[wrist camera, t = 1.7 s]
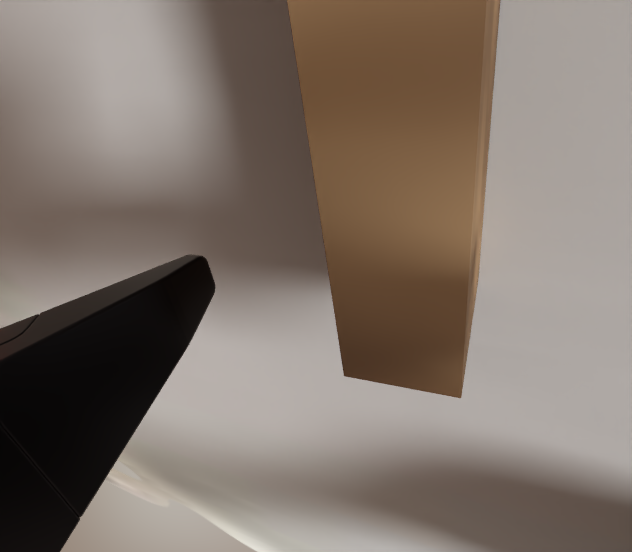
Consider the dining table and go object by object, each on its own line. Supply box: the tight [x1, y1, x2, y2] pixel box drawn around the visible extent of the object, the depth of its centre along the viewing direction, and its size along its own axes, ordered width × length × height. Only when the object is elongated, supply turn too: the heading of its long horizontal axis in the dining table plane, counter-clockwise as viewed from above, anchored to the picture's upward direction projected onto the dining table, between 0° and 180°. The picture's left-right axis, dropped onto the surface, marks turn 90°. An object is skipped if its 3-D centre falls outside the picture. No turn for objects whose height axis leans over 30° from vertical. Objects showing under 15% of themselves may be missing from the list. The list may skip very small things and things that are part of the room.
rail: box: [287, 0, 500, 398], centre depth 9 cm, size 14×3×5 cm, turn 9°
